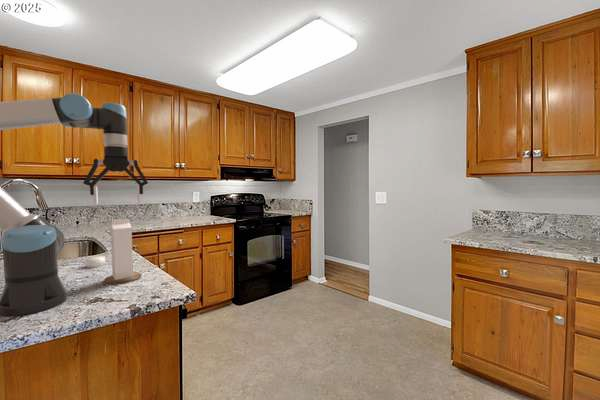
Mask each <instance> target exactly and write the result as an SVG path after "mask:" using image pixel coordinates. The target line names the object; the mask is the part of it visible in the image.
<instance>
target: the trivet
mask: <svg viewBox="0 0 600 400" xmlns="http://www.w3.org/2000/svg"><path fill="white" fill-rule="evenodd" d="M141 278H142V273H141V272H137V271H133V277H129V278H123V279H118V280H115V279H114V277H113V274H111V275H109V276H106V277H105V278H104V283H105V284H107V285H121V284H128V283H132V282H135V281H137V280H139V279H141Z"/></svg>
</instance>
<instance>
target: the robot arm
mask: <svg viewBox="0 0 600 400" xmlns="http://www.w3.org/2000/svg"><path fill="white" fill-rule="evenodd" d="M127 117H128V116H127V109H126V107H125V105H123V104H120V103H115V102H103V103H102V104H101V107H93V106H92V104H91V102H90V101H89V100H88V99H87V98H86V97H85V96H83V95H82V94H79V93H73V92H70V93H67V94H65V95H63V96H62V97H61V96H60V97H51V98H36V99H35V98H34V99H33V98H32V99H21V100H8V101H0V131H6V130H12V129H13V130H15V129H22V128H23V129H24V128H32V127H34V128H35V127H40V126H41V127H42V126H49V125H51V126H52V125H59V124H61V125H62V126H63V127H70V128H73V129H75V128H76V129H77V128H79V129H93V130H102V131H103V132H102V133H103V134H102V135H103V136H102V137H103V145H104V147H103V157H104V158H103V159H98V158H94V159H93V162H92V163H93V165H92V167H91V168H90V170H89V172H88V173H87V175H86V177H85V179H84V181H83V182H82V183H83V185H87V186H88V187H89V192H90V193H89V194H90V196H93V202H94V203H93V205H98V204H99V194H98V193H99V192H98V186H97V184H98V182H99V181H100V180H101V179H103V178H104V177H105V176H106V175H107V174H108V173H109V172H112V173H115V172H119V173H122V172H123V173H124V171H125V173H126V174H127V175H128V176H129V177H130V178H131V179H133V180H134V182H135V183H137V186H136V191H137V192H136V199H137V204H140V203H141V195H143V194H144V186H145V185H148V183H149V182H148V180H147V179H146V176H145V175H144V173H143V172H142V170H141V168H140V166H139V163H138V160H137V159H134V160H129V149H128V145H129V144H128V118H127ZM102 164H103V166H105V168H103V169H102V171H101V172H100V173H98V175H97V176H96V177H95V178H94V179H93V180H92V181H91V179H92V178H93V177H94V175H95V172H97V169H98V168H99V166H101V165H102ZM130 164H131V166H132V167H134V168H135V169H136V172H137V173H138V175H139V177H140V178H141V180H142V181H141V180H140V179H139V178H138V177H137V176H135V174H134V173H133V172H132V171H131V170H130V169H129V168H128V167H129V166H130ZM0 231H1V238H0V239H1V247H2V259H3V272H4V273H3V274H4V286H3V287H4V288H3V290H2V292H1V295H0V316H4V317H12V316H13V317H15V316H25V315H29V314H34V313H38V312H42V311H44V310H45V311H46V310H49V309H51V308H54V307H57V306H58V305H60V304H62V303H64V302H65V301H66V300H67V290H66V288H65V286H64V285H63V283H62V280H61V278H60V276H59V267H58V265H59V264H58V254H60V252H61V251H62V250H63V248H64V245H65V241H66V240H65V235H64V232H63V231H62V230H61V229H60V228H59V227H57V226H56V225H54V224H51V223H50V222H48V221H47V220H46V218H44V217H43V216H42V215H40V214H32V213H31V212H30V211H28V210H27V209H26V208H25V207H24V206H23V205H22V204H20V203H19V202H18V201H17V200H16V199H15V198H14V197H12V195H10V194H9V193H8V192H7V191H6V190H5V189H4V188H3V187H1V186H0Z"/></svg>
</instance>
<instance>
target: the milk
mask: <svg viewBox="0 0 600 400" xmlns="http://www.w3.org/2000/svg"><path fill="white" fill-rule="evenodd" d="M110 222H111V224H110V229H109V230H110V245H111V246H110V247H111V248H110V249H111V251H110V252H111V270H112V274H111V275H113V277H114V279H115V280H118V279H123V278H129V277H133V272H134V255H133V253H134V252H133V233H132V232H133V231H132V225H131V220H130V218H120V219H112V220H111V221H110Z"/></svg>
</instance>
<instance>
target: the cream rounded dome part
mask: <svg viewBox="0 0 600 400" xmlns="http://www.w3.org/2000/svg"><path fill="white" fill-rule="evenodd" d="M105 266H106V256H104V255H98V256H90V257H87V258H85V267H86V268H87V269H95V268H101V267H105Z"/></svg>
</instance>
